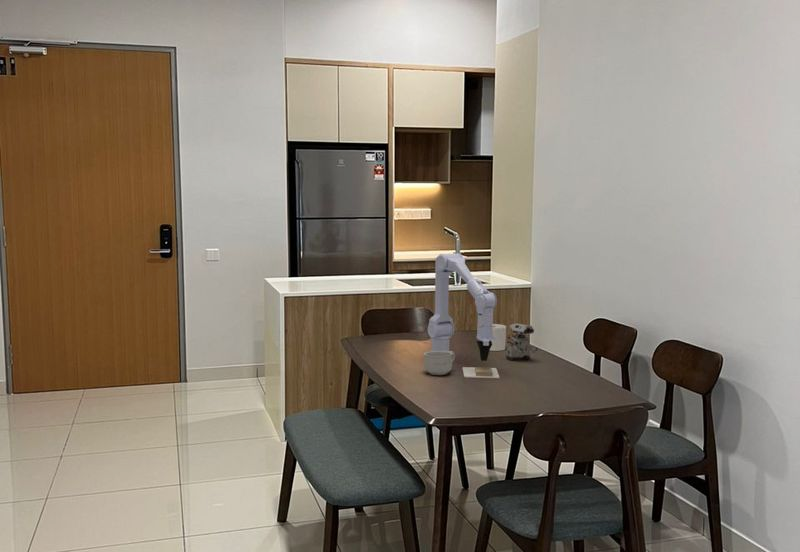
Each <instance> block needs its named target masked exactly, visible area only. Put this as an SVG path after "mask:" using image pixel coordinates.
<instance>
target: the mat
mask: <svg viewBox="0 0 800 552" xmlns="http://www.w3.org/2000/svg"><path fill="white" fill-rule="evenodd" d="M475 367H476V366H475ZM475 367H474V366H473V367H472V366H471V367H470V366H469V367H468V366H467V367H466V366H463V367H462V373H463V377H464V378H472V379H473V378H475V379H476V378H477V379H500V375H499V373H498V370H497V368H496V367H490V368H491V369H492V372H493V373H492V376H476V373H475Z"/></svg>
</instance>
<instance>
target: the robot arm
mask: <svg viewBox="0 0 800 552" xmlns="http://www.w3.org/2000/svg"><path fill="white" fill-rule="evenodd" d="M434 264H435V265H434V267H435V272H434V273H435V275H434V276H435V281H434V282H435V283H434V284H435V285H434V286H435V289H434V290H435V291H434V293H435V294H434V314H433V316H431V317H430V318H429V319H428V326H427V334H428V336H429V338H430V339H431V348H430V349H431V351H448V352H449V351H450V339H451V338H452V336H453V335H454V334H455V333H454V332H455V326H454V319H453V317H451V316H450V315H449V293H450V291H449V289H450V287H449V282H450V280H449V279H450V276H451V274H453V273H454V272H455V273H457V275H458V276H459V277H460V278H461V279H462V280H463V281H464V282H465V283H466V289H467V291H468V292H469V294H471V296H472V297H473V299H474V304H475V307H476V313H477V328H476V329H477V332H476V333H477V334H476V339H477V340H476V344H477V346H478V350H479V356H480V361H481V362H486V361H487V360H488V357H489V354H490V351H489V350H490V348H491V346H492V341H491V340H492V339H495V336H492V332H493V324H494V308H495V307H496V306H497V304H498V299H497V296H496V294H495V293H494V292H490V291H489V290H488V289H487V288H486V287H485V285H484V284H483V283H482V281H481V280H480V279H478V278H474V276H473V274H472V272H471V271H470V269H469V268H468V266H467V265H466V259H465V258H464V256H463V255H462V253H459V252H456V253H439V254H438V256H437V257H435V263H434Z"/></svg>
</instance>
